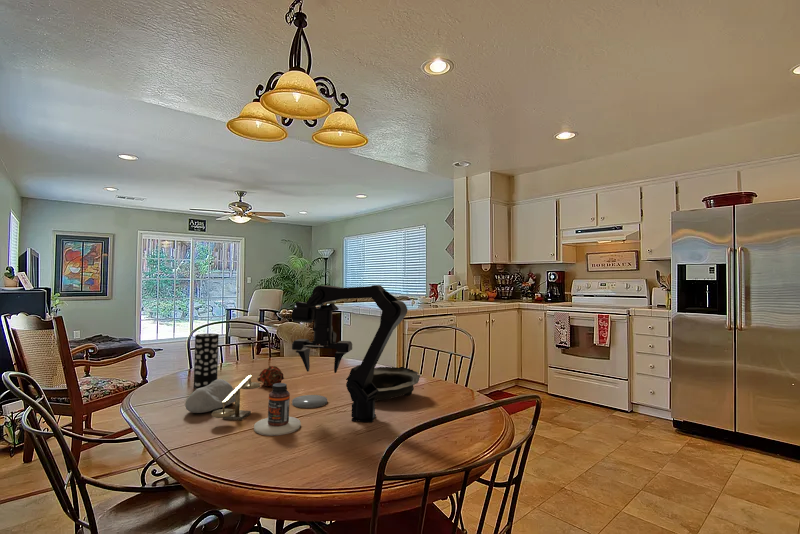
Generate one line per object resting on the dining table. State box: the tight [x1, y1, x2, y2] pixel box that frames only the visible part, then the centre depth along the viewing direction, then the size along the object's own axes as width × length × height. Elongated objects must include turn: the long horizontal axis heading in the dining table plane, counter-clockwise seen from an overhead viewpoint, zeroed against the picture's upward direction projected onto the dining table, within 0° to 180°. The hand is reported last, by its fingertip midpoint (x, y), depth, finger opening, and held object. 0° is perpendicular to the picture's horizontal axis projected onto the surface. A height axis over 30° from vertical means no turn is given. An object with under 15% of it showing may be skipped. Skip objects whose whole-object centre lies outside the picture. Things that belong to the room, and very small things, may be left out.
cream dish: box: [253, 416, 302, 437], centre depth 121 cm, size 13×13×1 cm
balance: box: [211, 374, 261, 422], centre depth 129 cm, size 6×22×11 cm, turn 172°
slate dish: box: [291, 394, 328, 409], centre depth 145 cm, size 12×12×1 cm
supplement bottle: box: [267, 382, 291, 426], centre depth 121 cm, size 6×6×11 cm
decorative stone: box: [184, 378, 235, 414], centre depth 136 cm, size 17×10×10 cm
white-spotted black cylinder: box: [193, 333, 219, 390], centre depth 163 cm, size 8×8×20 cm
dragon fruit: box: [257, 365, 285, 388], centre depth 166 cm, size 8×8×12 cm
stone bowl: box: [372, 366, 421, 402], centre depth 155 cm, size 25×25×9 cm
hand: (321, 372), depth 135 cm, fingers open, 9 cm apart
